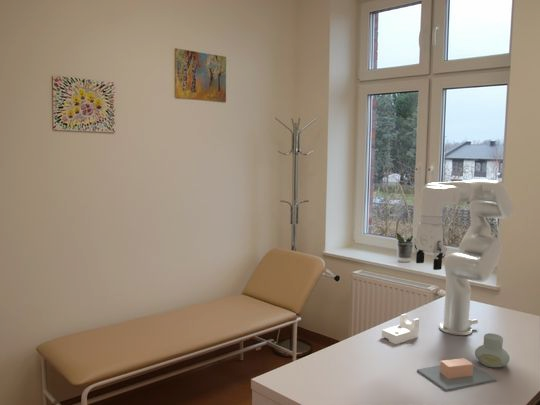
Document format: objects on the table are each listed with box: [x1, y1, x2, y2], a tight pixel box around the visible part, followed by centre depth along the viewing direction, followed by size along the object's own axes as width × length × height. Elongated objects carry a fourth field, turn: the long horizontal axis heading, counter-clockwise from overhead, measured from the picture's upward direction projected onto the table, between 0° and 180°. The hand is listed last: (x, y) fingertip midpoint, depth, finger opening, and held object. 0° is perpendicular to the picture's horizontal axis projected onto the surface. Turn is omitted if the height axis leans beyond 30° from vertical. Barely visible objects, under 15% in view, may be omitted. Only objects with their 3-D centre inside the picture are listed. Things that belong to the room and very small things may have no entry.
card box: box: [439, 357, 474, 379], centre depth 163 cm, size 4×9×4 cm, turn 104°
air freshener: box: [474, 333, 511, 369], centre depth 171 cm, size 11×8×10 cm
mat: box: [416, 364, 497, 392], centre depth 163 cm, size 20×14×1 cm
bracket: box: [381, 313, 420, 345], centre depth 193 cm, size 13×7×8 cm, turn 125°
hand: (428, 266), depth 183 cm, fingers open, 9 cm apart
